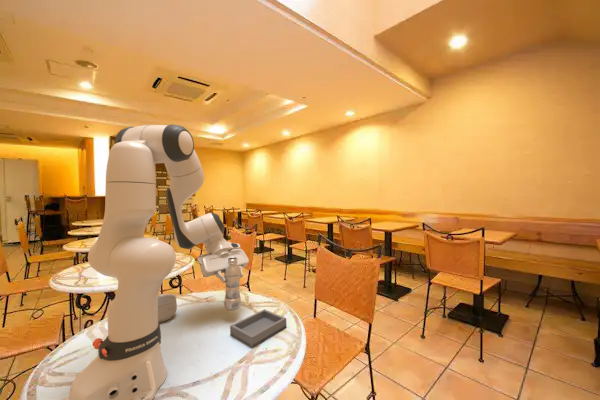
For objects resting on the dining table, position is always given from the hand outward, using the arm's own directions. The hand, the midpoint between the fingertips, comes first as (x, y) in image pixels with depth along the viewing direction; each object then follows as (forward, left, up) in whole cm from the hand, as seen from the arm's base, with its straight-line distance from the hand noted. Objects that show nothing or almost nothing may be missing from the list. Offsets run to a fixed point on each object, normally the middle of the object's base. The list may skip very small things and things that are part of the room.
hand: (233, 279), depth 100 cm
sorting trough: (0, -14, -16) cm, 22 cm away
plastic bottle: (0, +1, -12) cm, 12 cm away
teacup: (-17, +26, -16) cm, 35 cm away
